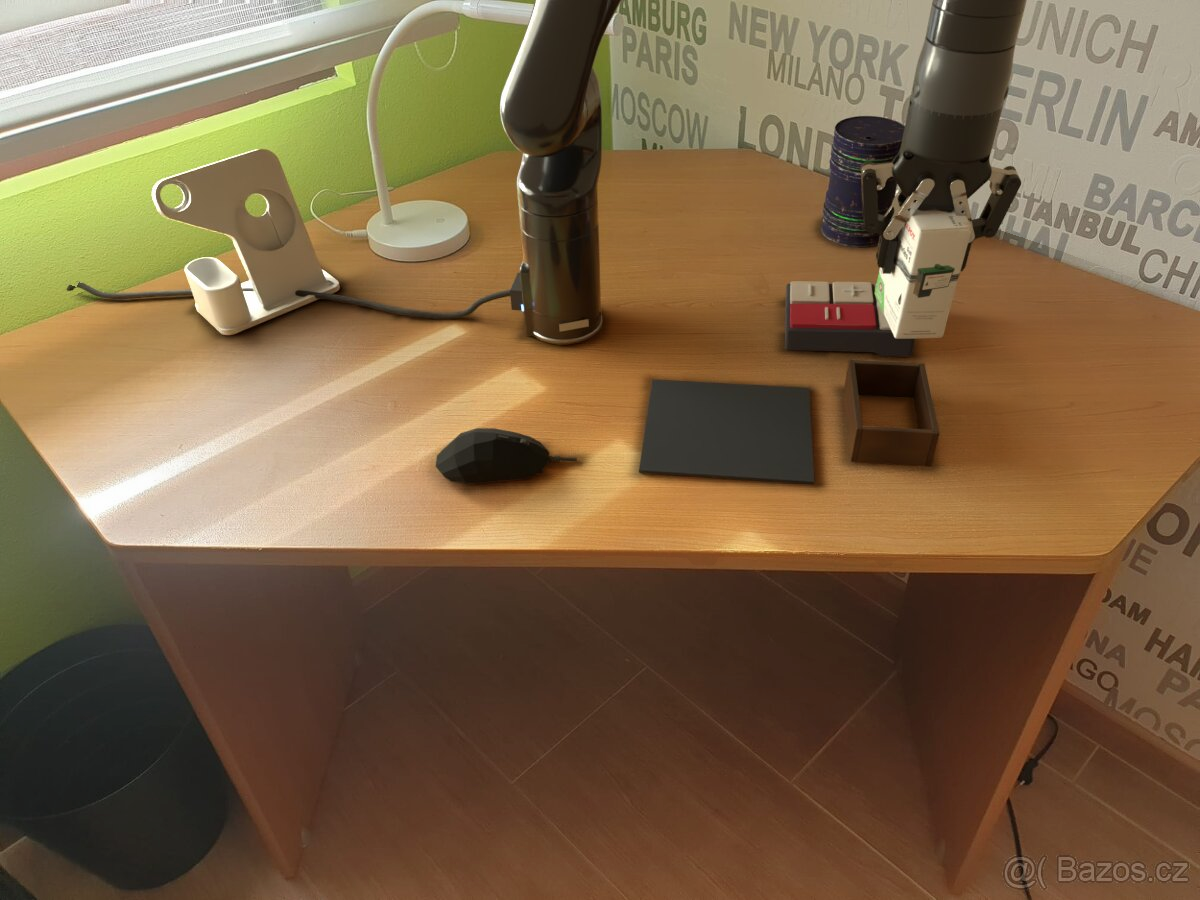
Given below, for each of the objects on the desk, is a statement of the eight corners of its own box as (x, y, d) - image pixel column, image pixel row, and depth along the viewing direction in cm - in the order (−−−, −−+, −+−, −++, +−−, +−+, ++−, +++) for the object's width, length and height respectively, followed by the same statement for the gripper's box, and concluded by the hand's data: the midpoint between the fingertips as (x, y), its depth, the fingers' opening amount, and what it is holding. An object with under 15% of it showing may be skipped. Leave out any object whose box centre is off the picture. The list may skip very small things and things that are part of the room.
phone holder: (222, 338, 121) (177, 207, 109) (190, 307, 127) (144, 180, 115) (343, 288, 129) (313, 162, 118) (307, 262, 135) (275, 138, 124)
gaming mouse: (578, 480, 99) (576, 451, 96) (435, 488, 99) (429, 459, 96) (576, 441, 104) (574, 412, 101) (439, 448, 103) (434, 419, 101)
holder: (850, 461, 100) (857, 428, 97) (843, 391, 109) (848, 359, 106) (931, 466, 99) (940, 433, 96) (917, 395, 108) (924, 363, 105)
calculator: (786, 277, 121) (909, 278, 119) (785, 306, 124) (904, 308, 122) (786, 324, 113) (917, 327, 111) (784, 354, 116) (912, 357, 113)
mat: (638, 473, 100) (638, 470, 99) (652, 381, 112) (652, 379, 111) (814, 484, 98) (814, 481, 97) (808, 390, 110) (809, 387, 109)
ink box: (872, 293, 98) (893, 184, 90) (920, 291, 98) (945, 183, 90) (894, 340, 91) (919, 228, 84) (946, 338, 91) (975, 226, 84)
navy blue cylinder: (826, 211, 143) (840, 112, 133) (894, 219, 140) (912, 119, 130) (814, 242, 136) (828, 140, 126) (885, 251, 133) (905, 148, 123)
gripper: (1037, 81, 82) (988, 255, 93) (866, 76, 84) (839, 248, 95) (1056, 114, 77) (1002, 296, 88) (874, 109, 78) (843, 288, 89)
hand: (917, 270), depth 91 cm, fingers closed on ink box, 5 cm apart
